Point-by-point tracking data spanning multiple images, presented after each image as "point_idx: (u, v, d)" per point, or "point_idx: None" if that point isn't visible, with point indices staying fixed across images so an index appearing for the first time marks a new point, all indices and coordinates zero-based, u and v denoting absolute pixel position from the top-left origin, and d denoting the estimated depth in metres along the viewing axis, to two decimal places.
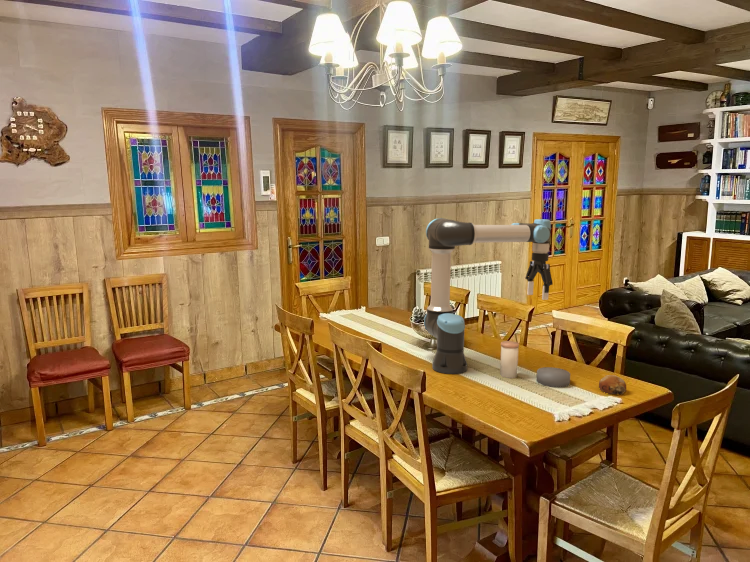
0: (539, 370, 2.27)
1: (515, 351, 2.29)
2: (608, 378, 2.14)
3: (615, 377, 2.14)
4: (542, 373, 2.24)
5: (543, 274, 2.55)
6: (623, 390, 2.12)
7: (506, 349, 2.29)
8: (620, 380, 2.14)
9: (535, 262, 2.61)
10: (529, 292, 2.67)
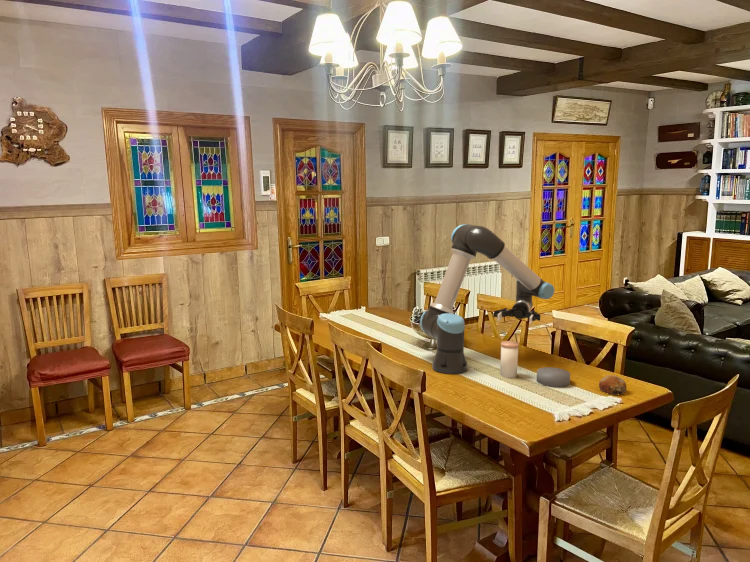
0: (539, 370, 2.27)
1: (515, 351, 2.29)
2: (608, 378, 2.14)
3: (615, 377, 2.14)
4: (542, 373, 2.24)
5: None
6: (623, 390, 2.12)
7: (506, 349, 2.29)
8: (620, 380, 2.14)
9: None
10: (499, 316, 2.42)
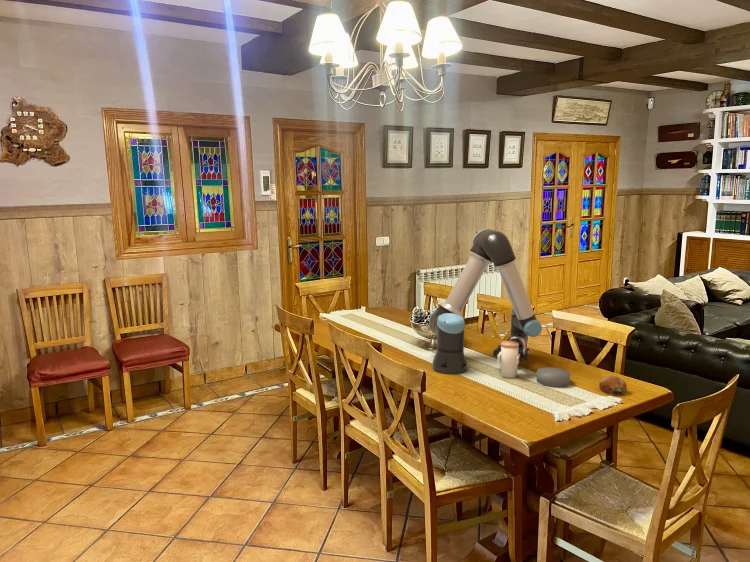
0: (539, 370, 2.27)
1: (515, 351, 2.29)
2: (608, 378, 2.14)
3: (615, 377, 2.14)
4: (542, 373, 2.24)
5: None
6: (623, 390, 2.12)
7: (506, 349, 2.29)
8: (620, 380, 2.13)
9: None
10: (499, 357, 2.30)
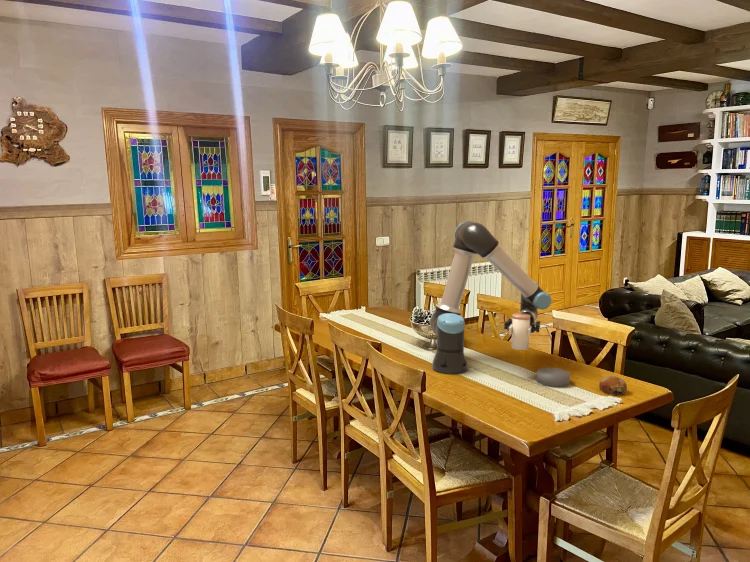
0: (539, 370, 2.27)
1: (527, 322, 2.26)
2: (608, 378, 2.14)
3: (615, 377, 2.14)
4: (542, 373, 2.24)
5: None
6: (623, 390, 2.12)
7: (517, 321, 2.26)
8: (620, 380, 2.13)
9: None
10: (511, 329, 2.27)
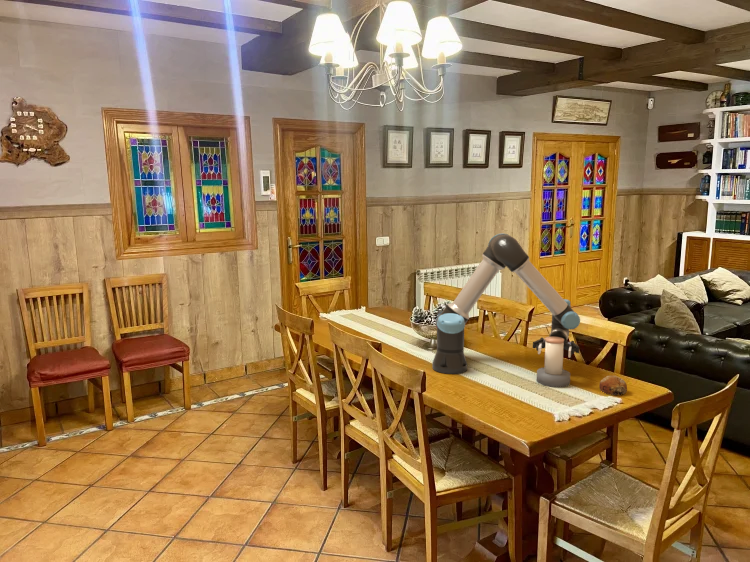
0: (539, 370, 2.27)
1: (561, 346, 2.21)
2: (609, 379, 2.14)
3: (616, 378, 2.14)
4: (542, 373, 2.24)
5: None
6: (624, 391, 2.11)
7: (551, 345, 2.21)
8: (621, 381, 2.13)
9: None
10: (540, 348, 2.23)
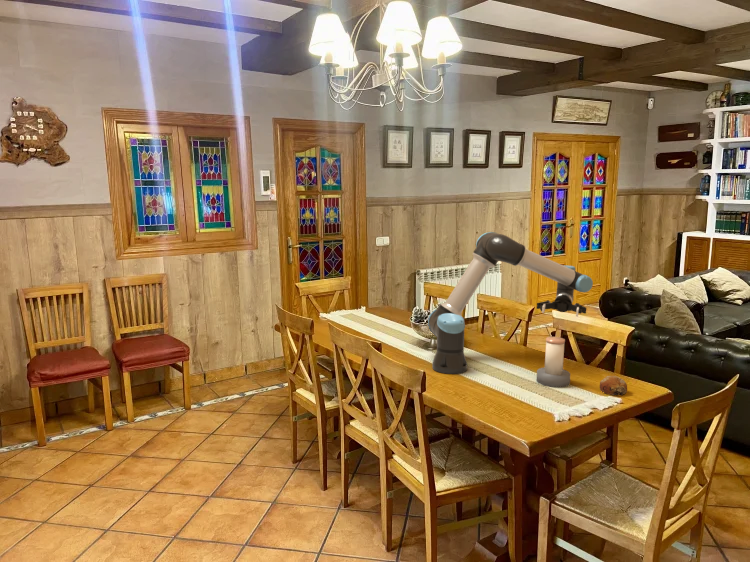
0: (539, 370, 2.27)
1: (561, 347, 2.20)
2: (609, 379, 2.13)
3: (616, 378, 2.13)
4: (542, 373, 2.24)
5: None
6: (624, 391, 2.11)
7: (551, 345, 2.21)
8: (621, 381, 2.13)
9: None
10: (544, 308, 2.34)
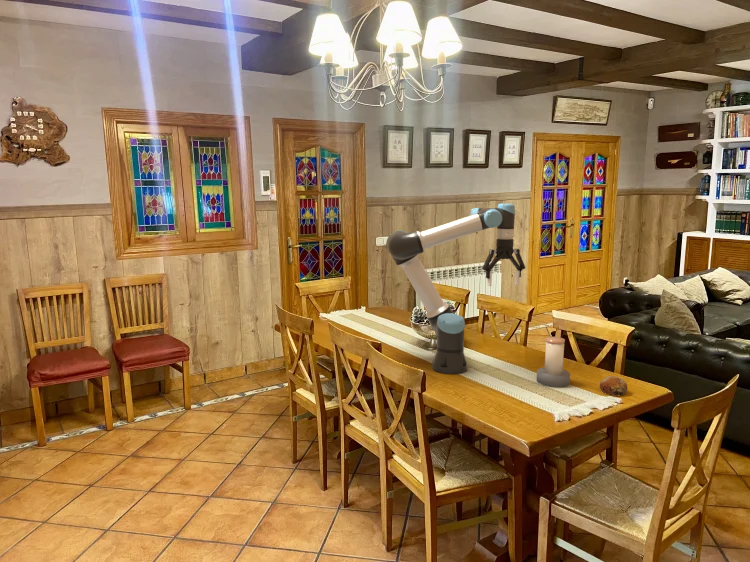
0: (539, 370, 2.27)
1: (561, 347, 2.20)
2: (609, 379, 2.13)
3: (616, 378, 2.13)
4: (542, 373, 2.24)
5: (493, 260, 2.48)
6: (624, 391, 2.11)
7: (551, 345, 2.21)
8: (621, 381, 2.13)
9: None
10: (515, 281, 2.52)
